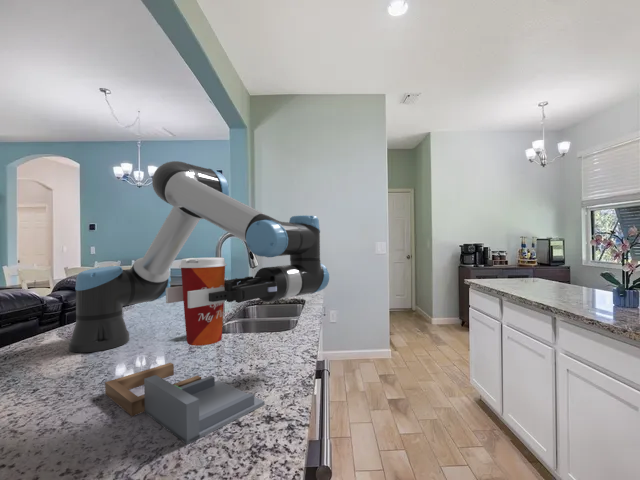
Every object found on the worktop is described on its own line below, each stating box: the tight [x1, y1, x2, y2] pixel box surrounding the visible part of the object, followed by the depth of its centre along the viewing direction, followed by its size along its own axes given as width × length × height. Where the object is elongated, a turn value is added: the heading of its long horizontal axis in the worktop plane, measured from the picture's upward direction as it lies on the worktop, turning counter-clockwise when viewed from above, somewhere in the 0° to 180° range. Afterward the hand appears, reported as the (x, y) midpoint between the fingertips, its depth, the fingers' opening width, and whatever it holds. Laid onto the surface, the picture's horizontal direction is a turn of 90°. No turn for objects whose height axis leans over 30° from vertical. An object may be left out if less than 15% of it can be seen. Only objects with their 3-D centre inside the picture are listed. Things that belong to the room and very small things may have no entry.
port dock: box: [143, 375, 266, 446], centre depth 58 cm, size 15×15×6 cm
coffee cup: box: [178, 256, 228, 347], centre depth 58 cm, size 8×8×15 cm
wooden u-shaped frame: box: [104, 362, 202, 417], centre depth 65 cm, size 13×14×2 cm
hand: (177, 297), depth 54 cm, fingers closed on coffee cup, 7 cm apart
